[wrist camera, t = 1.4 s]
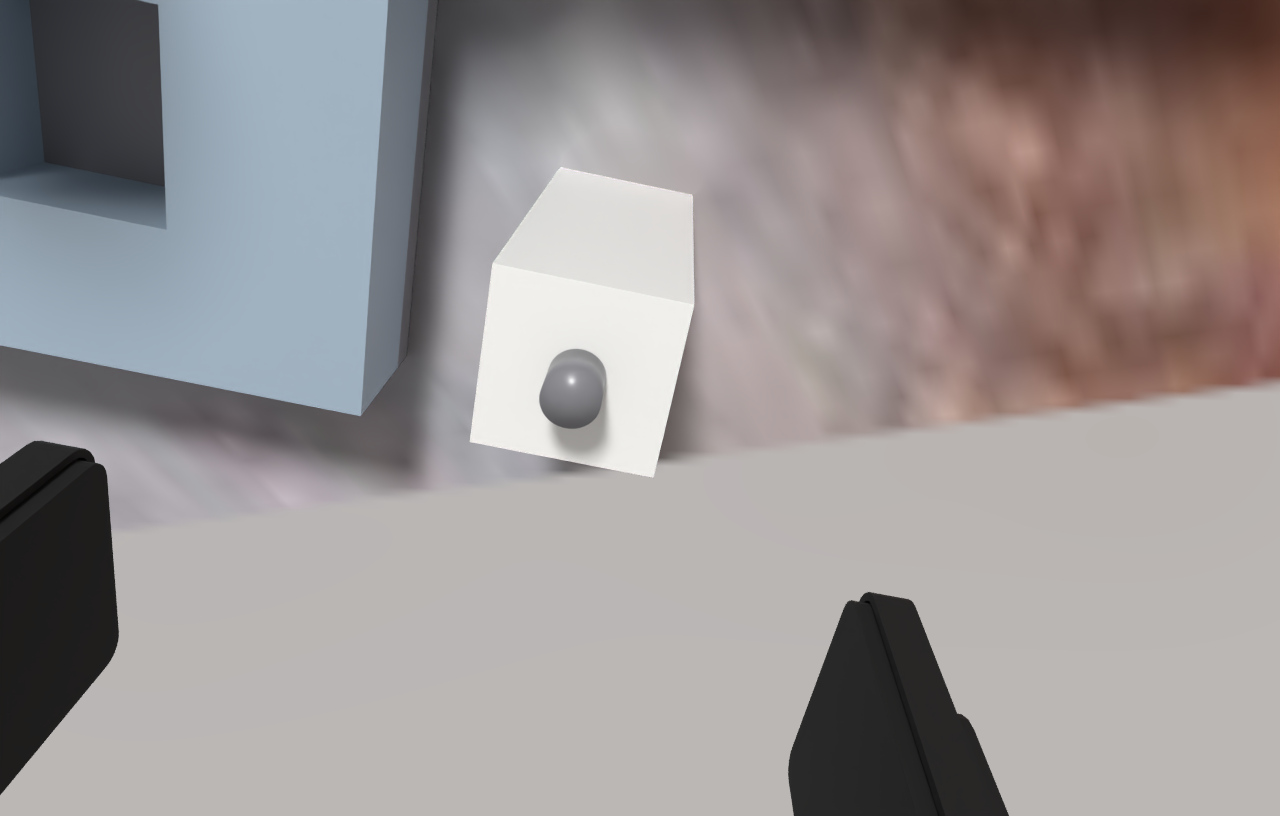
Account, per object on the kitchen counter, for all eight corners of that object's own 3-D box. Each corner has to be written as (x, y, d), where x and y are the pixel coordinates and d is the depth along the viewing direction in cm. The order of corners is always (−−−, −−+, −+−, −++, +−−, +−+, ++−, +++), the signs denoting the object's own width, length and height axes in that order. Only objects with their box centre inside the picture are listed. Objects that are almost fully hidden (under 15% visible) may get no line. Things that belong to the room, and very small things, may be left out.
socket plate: (450, -135, 23) (398, -160, 19) (406, 355, 29) (360, 416, 25) (-178, -274, 22) (-370, -331, 18) (-90, 256, 28) (-218, 302, 24)
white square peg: (692, 195, 26) (694, 325, 16) (665, 319, 28) (651, 507, 18) (560, 166, 26) (479, 281, 16) (540, 294, 28) (456, 469, 18)
